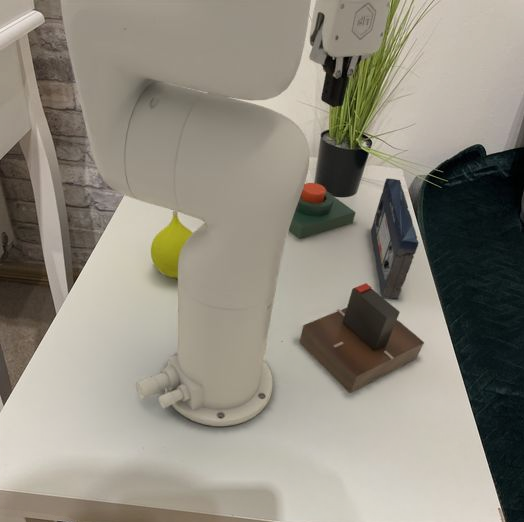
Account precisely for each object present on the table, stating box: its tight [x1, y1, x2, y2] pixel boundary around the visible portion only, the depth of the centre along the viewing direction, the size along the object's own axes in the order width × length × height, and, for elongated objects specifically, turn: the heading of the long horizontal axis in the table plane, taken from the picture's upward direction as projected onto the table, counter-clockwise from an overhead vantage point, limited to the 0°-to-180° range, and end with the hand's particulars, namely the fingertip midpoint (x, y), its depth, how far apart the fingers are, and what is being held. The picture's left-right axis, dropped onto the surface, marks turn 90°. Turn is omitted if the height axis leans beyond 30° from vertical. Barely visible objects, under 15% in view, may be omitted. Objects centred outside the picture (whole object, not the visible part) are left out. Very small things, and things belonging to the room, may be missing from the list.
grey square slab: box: [343, 282, 401, 351], centre depth 64 cm, size 6×2×6 cm, turn 35°
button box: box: [288, 190, 356, 240], centre depth 89 cm, size 12×10×4 cm
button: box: [301, 182, 327, 203], centre depth 88 cm, size 4×4×2 cm
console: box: [299, 307, 425, 394], centre depth 67 cm, size 12×10×3 cm
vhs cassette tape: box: [370, 178, 419, 300], centre depth 80 cm, size 18×3×10 cm, turn 175°
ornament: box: [150, 210, 194, 279], centre depth 72 cm, size 7×7×10 cm
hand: (331, 103), depth 77 cm, fingers closed
